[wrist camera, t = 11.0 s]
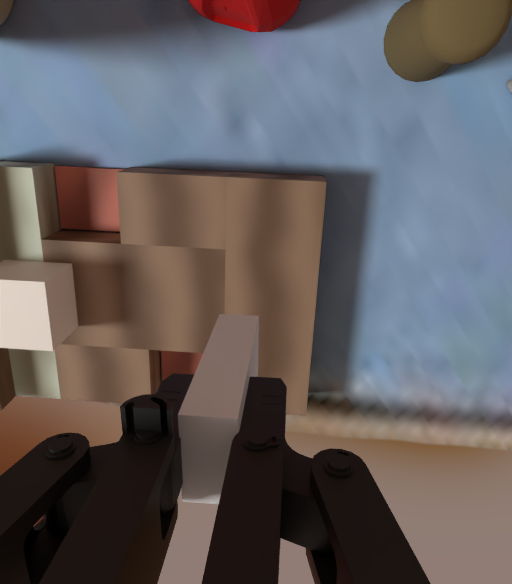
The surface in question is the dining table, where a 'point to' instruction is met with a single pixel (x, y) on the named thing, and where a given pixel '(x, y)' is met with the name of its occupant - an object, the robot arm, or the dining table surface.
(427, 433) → the dining table surface
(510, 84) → the coffee box
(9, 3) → the plant pot
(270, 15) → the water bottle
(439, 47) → the cork
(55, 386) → the wooden board
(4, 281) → the block
